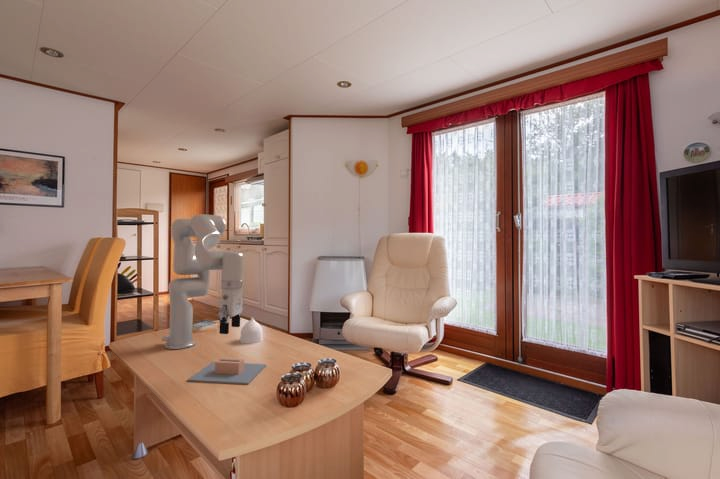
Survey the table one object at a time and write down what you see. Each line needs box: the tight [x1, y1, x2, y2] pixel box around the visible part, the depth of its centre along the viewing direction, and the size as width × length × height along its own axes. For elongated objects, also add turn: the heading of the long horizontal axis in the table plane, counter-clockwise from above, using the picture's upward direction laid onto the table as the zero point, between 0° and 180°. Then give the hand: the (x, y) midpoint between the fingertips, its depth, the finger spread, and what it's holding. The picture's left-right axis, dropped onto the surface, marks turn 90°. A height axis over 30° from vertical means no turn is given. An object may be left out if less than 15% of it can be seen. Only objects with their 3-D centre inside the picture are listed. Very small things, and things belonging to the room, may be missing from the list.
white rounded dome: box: [239, 316, 264, 344], centre depth 169 cm, size 11×11×12 cm
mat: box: [186, 361, 267, 386], centre depth 126 cm, size 22×18×1 cm
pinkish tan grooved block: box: [214, 357, 245, 374], centre depth 127 cm, size 4×9×4 cm, turn 86°
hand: (230, 330), depth 127 cm, fingers open, 9 cm apart
